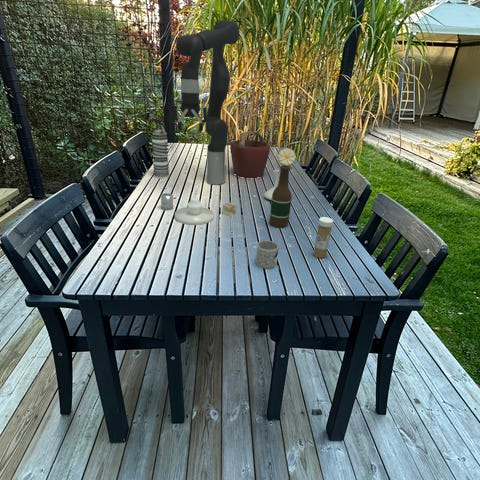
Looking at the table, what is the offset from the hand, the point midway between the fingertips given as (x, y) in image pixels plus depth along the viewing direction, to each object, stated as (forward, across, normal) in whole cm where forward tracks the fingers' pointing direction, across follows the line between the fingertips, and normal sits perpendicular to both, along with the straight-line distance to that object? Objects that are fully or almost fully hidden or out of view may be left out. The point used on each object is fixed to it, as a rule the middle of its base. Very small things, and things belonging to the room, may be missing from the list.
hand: (190, 131), depth 148 cm
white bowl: (+30, +5, -25) cm, 39 cm away
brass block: (+30, +19, -18) cm, 40 cm away
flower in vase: (+30, +42, +3) cm, 51 cm away
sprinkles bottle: (+30, +52, -52) cm, 79 cm away
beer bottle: (+30, +40, -27) cm, 57 cm away
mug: (+30, +33, -58) cm, 73 cm away
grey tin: (+30, -8, -16) cm, 35 cm away
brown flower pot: (+30, +27, +43) cm, 59 cm away
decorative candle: (+30, -21, +30) cm, 48 cm away
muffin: (+29, +5, -24) cm, 38 cm away
